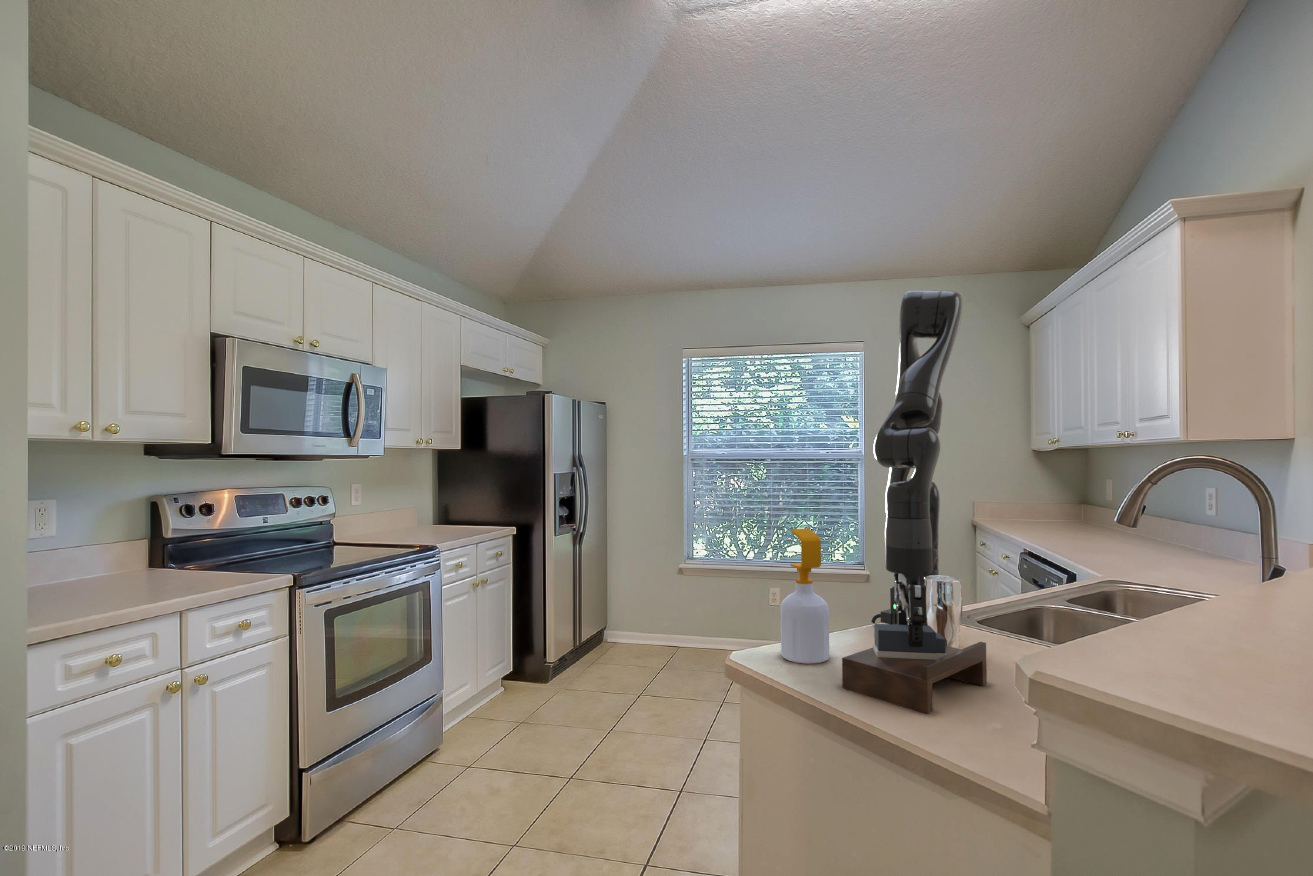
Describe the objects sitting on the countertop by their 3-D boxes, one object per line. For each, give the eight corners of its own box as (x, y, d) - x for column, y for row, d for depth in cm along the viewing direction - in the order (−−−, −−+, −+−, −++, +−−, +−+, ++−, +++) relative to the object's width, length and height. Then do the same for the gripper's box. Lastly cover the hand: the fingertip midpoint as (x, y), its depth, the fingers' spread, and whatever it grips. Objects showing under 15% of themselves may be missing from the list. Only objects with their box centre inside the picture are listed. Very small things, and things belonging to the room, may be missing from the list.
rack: (842, 687, 111) (841, 645, 111) (904, 663, 124) (904, 625, 124) (927, 714, 99) (927, 667, 99) (986, 684, 112) (986, 642, 112)
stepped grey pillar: (877, 657, 111) (877, 630, 111) (873, 649, 115) (873, 623, 116) (946, 660, 109) (946, 633, 109) (940, 652, 114) (939, 626, 114)
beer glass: (944, 663, 123) (943, 582, 124) (916, 653, 130) (915, 576, 130) (971, 658, 126) (970, 579, 127) (942, 649, 133) (941, 573, 133)
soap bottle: (812, 648, 133) (811, 526, 134) (838, 661, 125) (837, 531, 125) (772, 653, 130) (771, 528, 131) (796, 666, 122) (795, 533, 123)
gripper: (942, 549, 105) (944, 652, 104) (922, 539, 119) (923, 630, 119) (893, 548, 106) (894, 650, 106) (878, 538, 120) (880, 628, 120)
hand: (910, 639), depth 112 cm, fingers open, 8 cm apart
